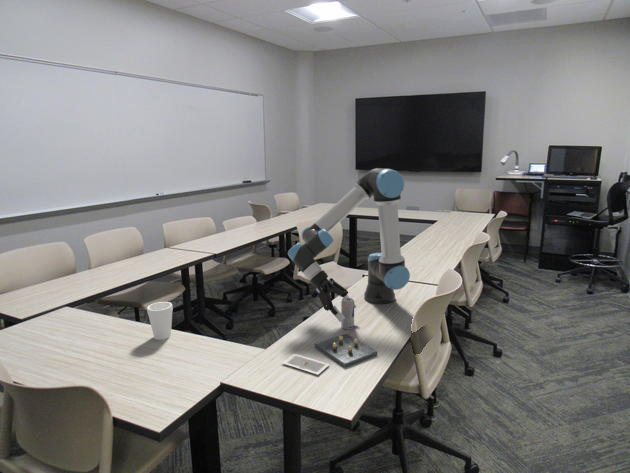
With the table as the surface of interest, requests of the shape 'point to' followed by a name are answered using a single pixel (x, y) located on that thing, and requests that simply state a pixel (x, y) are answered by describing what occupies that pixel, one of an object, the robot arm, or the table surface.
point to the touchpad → (306, 363)
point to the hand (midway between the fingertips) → (348, 314)
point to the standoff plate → (345, 350)
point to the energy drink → (347, 313)
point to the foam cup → (160, 319)
